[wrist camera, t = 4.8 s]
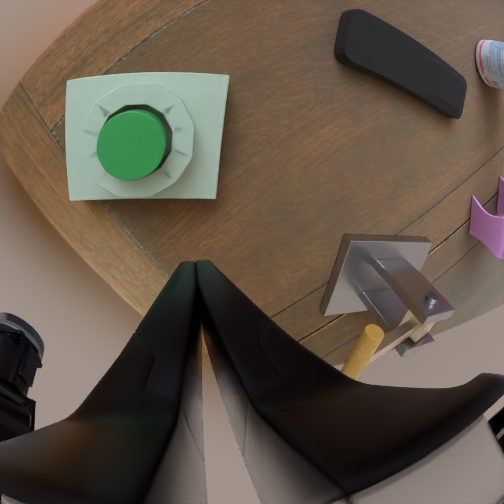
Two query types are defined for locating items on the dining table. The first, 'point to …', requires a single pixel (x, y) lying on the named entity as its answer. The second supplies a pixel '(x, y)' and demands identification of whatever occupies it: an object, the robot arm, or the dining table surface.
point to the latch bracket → (385, 284)
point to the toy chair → (489, 224)
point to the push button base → (174, 119)
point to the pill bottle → (491, 62)
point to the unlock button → (132, 144)
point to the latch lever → (381, 343)
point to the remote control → (399, 61)
